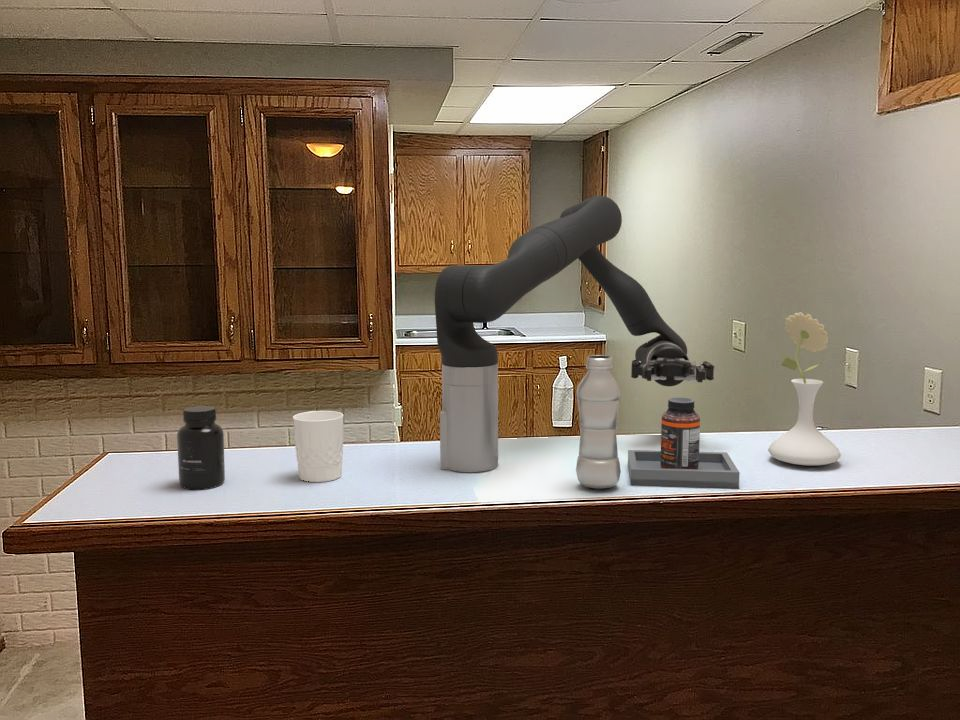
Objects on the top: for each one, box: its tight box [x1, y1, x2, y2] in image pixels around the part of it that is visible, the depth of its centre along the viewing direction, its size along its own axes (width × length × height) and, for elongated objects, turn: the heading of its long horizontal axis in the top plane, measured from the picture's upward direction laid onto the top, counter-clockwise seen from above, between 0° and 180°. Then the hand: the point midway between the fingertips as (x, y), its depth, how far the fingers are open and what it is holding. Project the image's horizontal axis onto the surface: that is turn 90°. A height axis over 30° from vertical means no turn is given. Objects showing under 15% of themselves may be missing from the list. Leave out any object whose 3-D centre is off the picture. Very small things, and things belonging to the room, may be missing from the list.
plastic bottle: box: [575, 354, 622, 489], centre depth 125 cm, size 6×7×20 cm
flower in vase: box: [767, 311, 842, 466], centre depth 139 cm, size 13×11×25 cm
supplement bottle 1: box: [176, 405, 226, 490], centre depth 129 cm, size 7×7×12 cm
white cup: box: [292, 410, 345, 483], centre depth 133 cm, size 8×8×10 cm
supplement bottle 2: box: [660, 396, 701, 469], centre depth 131 cm, size 6×6×11 cm
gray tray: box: [627, 449, 740, 490], centre depth 132 cm, size 16×12×2 cm
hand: (674, 375), depth 142 cm, fingers open, 8 cm apart
